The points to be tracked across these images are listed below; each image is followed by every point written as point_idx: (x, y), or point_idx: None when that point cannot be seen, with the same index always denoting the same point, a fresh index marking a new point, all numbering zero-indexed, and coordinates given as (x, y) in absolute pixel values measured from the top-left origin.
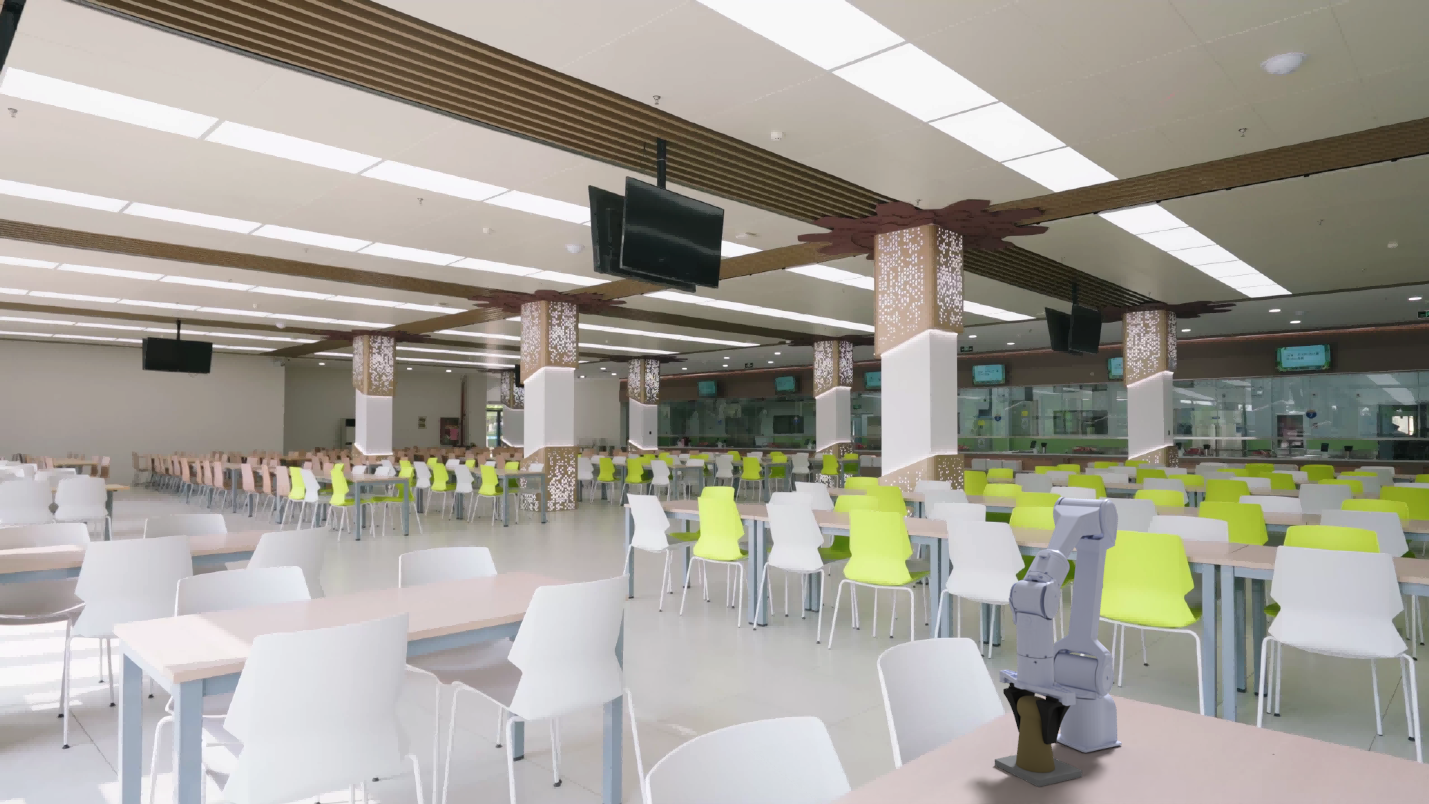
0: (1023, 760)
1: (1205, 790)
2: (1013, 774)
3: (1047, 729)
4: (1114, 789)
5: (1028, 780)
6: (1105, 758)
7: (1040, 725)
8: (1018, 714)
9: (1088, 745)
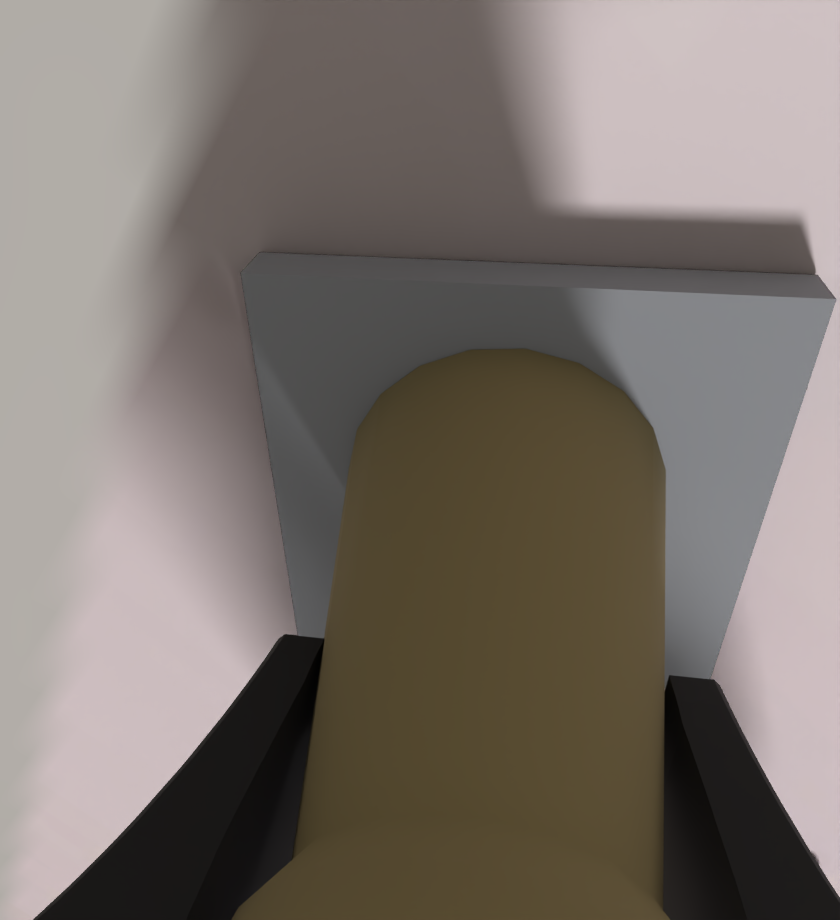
0: (490, 397)
1: (45, 829)
2: (558, 266)
3: (172, 778)
4: (114, 613)
5: (367, 260)
6: None
7: (302, 813)
8: (731, 905)
9: None
